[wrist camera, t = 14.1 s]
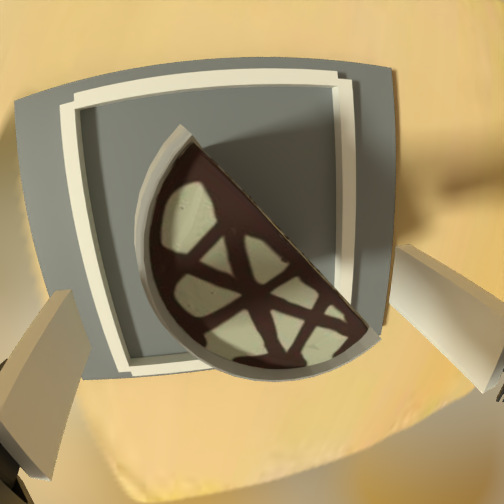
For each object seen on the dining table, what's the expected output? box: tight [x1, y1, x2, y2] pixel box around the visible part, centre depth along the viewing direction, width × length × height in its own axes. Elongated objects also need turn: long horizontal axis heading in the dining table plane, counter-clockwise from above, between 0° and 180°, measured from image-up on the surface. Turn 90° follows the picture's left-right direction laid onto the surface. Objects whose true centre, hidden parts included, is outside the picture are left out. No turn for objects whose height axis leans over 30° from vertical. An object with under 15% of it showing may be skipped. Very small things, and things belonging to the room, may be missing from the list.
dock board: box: [14, 57, 396, 380], centre depth 20 cm, size 26×22×2 cm
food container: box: [134, 124, 381, 382], centre depth 16 cm, size 12×6×10 cm, turn 42°
